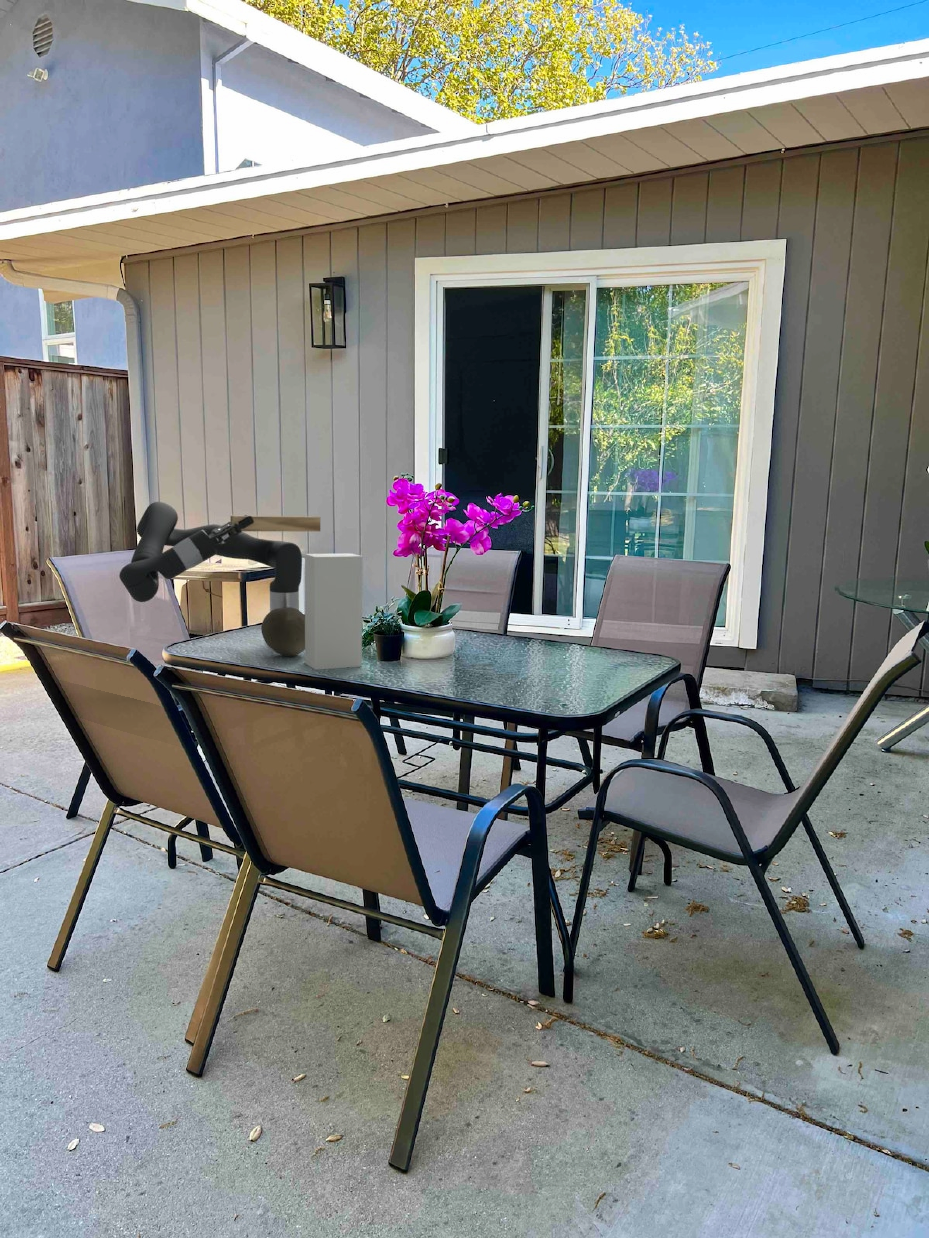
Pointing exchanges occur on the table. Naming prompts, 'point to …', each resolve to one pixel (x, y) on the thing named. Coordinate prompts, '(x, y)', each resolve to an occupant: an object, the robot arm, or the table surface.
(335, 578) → the pedestal
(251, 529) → the oak slat
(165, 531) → the robot arm
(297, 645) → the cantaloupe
